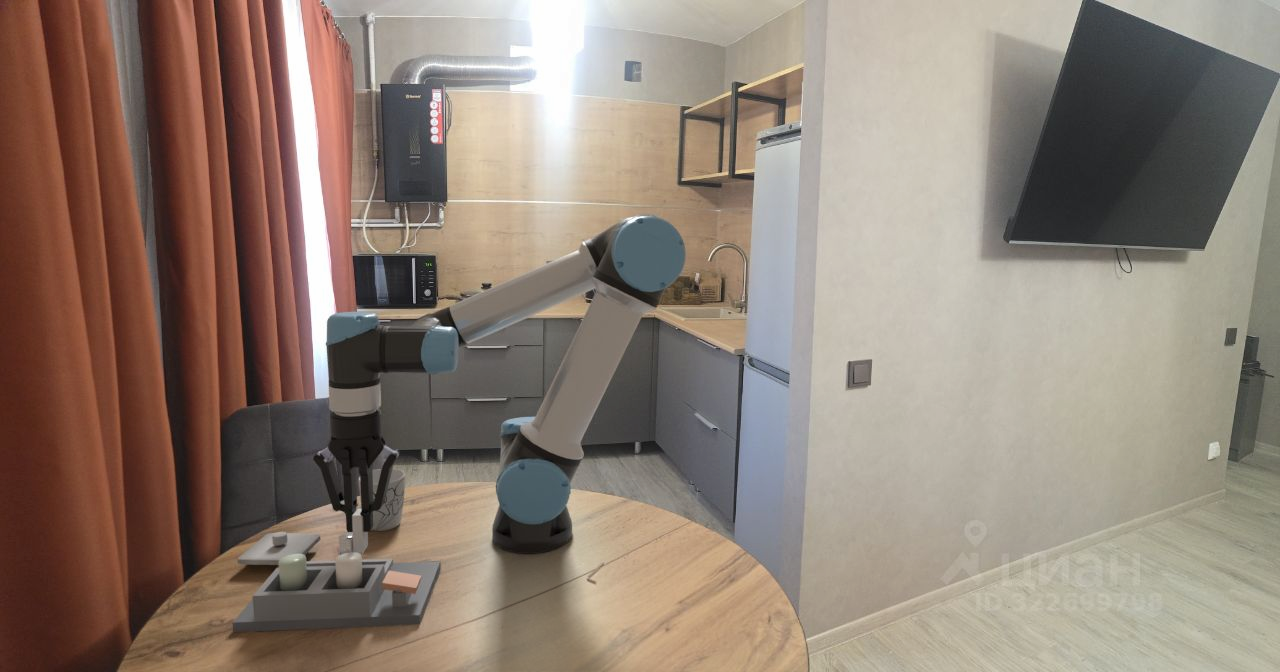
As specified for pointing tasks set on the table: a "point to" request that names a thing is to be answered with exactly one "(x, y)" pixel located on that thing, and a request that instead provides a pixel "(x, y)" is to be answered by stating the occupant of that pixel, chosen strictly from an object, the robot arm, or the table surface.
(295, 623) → the panel
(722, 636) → the table surface
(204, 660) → the table surface
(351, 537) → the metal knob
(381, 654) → the table surface
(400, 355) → the robot arm
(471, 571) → the table surface
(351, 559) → the white button
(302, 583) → the sage button
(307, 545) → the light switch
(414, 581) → the block
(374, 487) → the mug
